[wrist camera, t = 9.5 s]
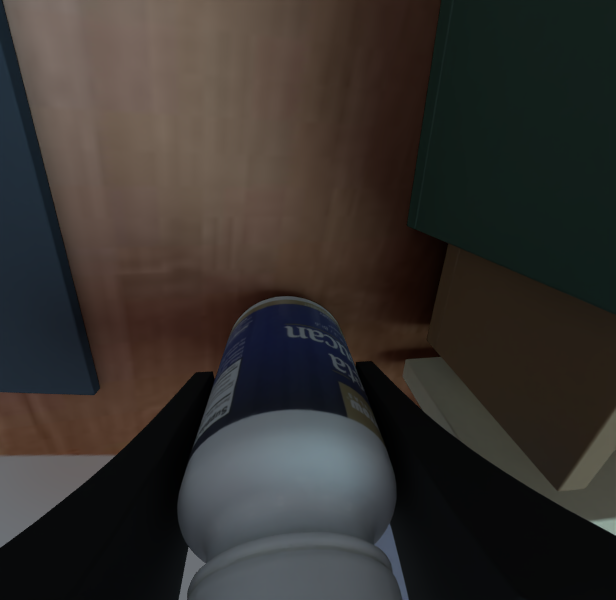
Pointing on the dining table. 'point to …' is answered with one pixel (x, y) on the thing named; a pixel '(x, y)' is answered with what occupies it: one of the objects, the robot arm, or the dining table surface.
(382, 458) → the pill bottle
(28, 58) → the dining table surface
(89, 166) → the dining table surface
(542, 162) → the cabinet
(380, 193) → the dining table surface
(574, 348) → the drawer
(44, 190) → the mat
